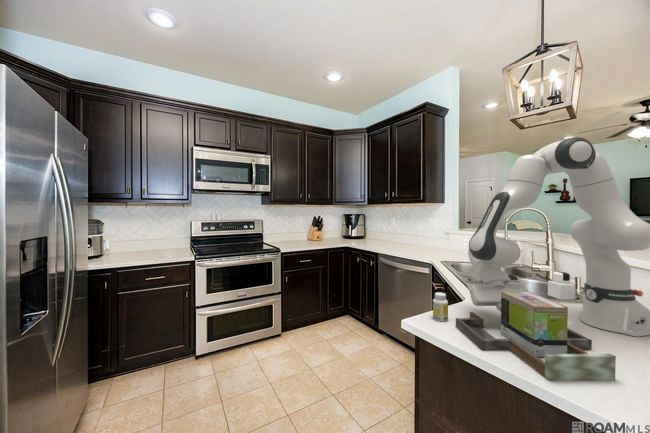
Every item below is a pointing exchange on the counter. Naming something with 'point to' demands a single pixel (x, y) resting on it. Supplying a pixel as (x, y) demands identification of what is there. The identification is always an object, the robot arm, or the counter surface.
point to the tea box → (534, 322)
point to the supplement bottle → (440, 307)
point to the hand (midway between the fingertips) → (510, 317)
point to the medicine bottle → (561, 286)
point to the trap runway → (555, 365)
